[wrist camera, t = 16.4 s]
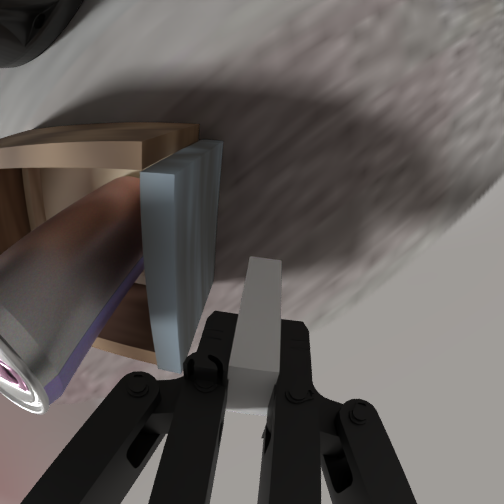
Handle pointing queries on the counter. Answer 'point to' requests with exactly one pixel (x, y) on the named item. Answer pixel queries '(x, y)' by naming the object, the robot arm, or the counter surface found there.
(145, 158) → the caddy
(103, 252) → the beverage can
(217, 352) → the robot arm
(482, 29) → the counter surface
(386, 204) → the counter surface
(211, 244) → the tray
